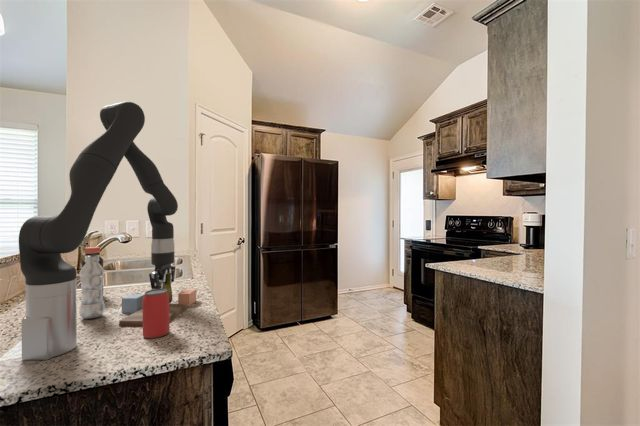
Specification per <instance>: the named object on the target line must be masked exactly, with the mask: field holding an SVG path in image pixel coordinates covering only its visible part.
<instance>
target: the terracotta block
mask: <svg viewBox="0 0 640 426" xmlns="http://www.w3.org/2000/svg"><path fill="white" fill-rule="evenodd" d="M177 297H178V298H177V302H178V303H177V304H187V307H190V306H191V305H193V304H194V303H195V302H196V301H197V288H195V289H188V288H187V289H184V290H182V291H181V292H179V293H178V294H177Z"/></svg>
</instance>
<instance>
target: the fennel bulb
mask: <svg viewBox="0 0 640 426" xmlns="http://www.w3.org/2000/svg"><path fill="white" fill-rule="evenodd" d="M171 279H172V278H171V273H167V277H166V279H165V282H164V283H163V288H162V289H166V290H167V293H168V295H169V304H172V303H171V302H172V301H173V289H172V284H171ZM159 280H162V279H159ZM159 283H160V282H159ZM154 285H155V283H154ZM153 290H154V289H153Z"/></svg>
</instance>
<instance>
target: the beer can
mask: <svg viewBox="0 0 640 426" xmlns="http://www.w3.org/2000/svg"><path fill="white" fill-rule="evenodd" d="M144 294H145V295H144V297H143V326H142V336H143V338H146V339H158V338H160V337H163V336H166V335H167V334H168V333H169V332H170V321H169V295H168V293H167V290H166V289H154V290H152V289H151V290H150V289H149V290H147V291H145V292H144Z"/></svg>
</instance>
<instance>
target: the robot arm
mask: <svg viewBox="0 0 640 426" xmlns="http://www.w3.org/2000/svg"><path fill="white" fill-rule="evenodd" d="M99 119H100V121H101V123H102V126H103V128H104V129H105V132H103V133H102V134H101V135H99V137H97V138H96V139H94V140H93V141H92V142H91V143H89V144H88V145H86V147H85V148H83V150H82V151H80V153H79V154H78V155H77V158H76V159H75V161H74V162H73V164H72V166H71V167H70V170H69V184H70V188H71V189H70V196H69V199H68V201H67V202H66V204H65V206H64V208H63V209H62V210H61V211H60V213H59V214H57V215H36V216H32V217H30V218H28V219H27V220H24V221H25V222H23V223H22V226H21V227H20V230H19V233H18V251H19V263H20V264H19V265H20V270H21V273H22V274H23V276H24V279H25V317H23V318H22V319H21V360H23V361H24V360H27V361H28V360H31V361H32V360H36V361H37V360H39V361H40V360H45V361H46V360H50V359H52V358H55V357H58V356H61V355H63V354H66V353H68V352H71V351H72V350H74V349H75V348H76V347H77V344H78V343H77V342H78V340H77V337H78V336H77V334H78V333H77V329H78V328H77V327H78V326H77V321H78V320H77V269H76V267H75V266H74V265H71V264H70V263H67V262H66V261H65V260H64V258H63V257H62V255H61V254H69V253H71V252H74V251H75V250H77V249H78V248H79V247H80V246H81V244H82V243H83V241H84V240H85V238H86V236H87V234H88V231H89V228H90V225H91V223H92V221H93V218H94V214H95V212H96V210H97V208H98V205H99V204H100V203H101V200H102V197H104V194H105V192H106V190H107V187H108V185H110V183H111V181H112V180H113V177H114V175H115V174H116V172H117V170H118V167H120V163H121V162H122V160H123V159H124V157H125V159H126V160H127V162H128V163H129V165H130V167H131V169H132V170H133V172H134V174H135V176H136V179H137V180H138V182H139V184H140V186H141V189H142V190H143V191H144V193H146V194H149V195H151V196H152V198H150V199H149V201H148V202H147V206H146V208H147V209H146V211H147V214H148V218H149V221H150V222H149V223H150V226H151V244H150V245H151V246H150V247H151V248H150V249H151V250H150V253H151V254H150V255H151V259H150V260H151V261H150V264H151V265H153V266H154V271H153V272H149V274H148V277H149V283H150V287H151V290H152V289H162V288H163V283H164V282H165V279H166V277H167V273H171V285H172V283H174V282H175V274H176V266H175V265H172V264H174V263H175V240H174V239H175V238H174V237H175V236H174V233H175V232H174V231H175V230H174V224H173V222H170V221H168V220H167V217H168V216H172V215H175V214H176V213H177V212H178V209H179V208H178V207H179V205H178V201H177V198H176V197H175V196H174V195H175V194H173V192H172V191H171V190H170V189H169V187H168V186H167V185H166V184H165V182H164V180H163V178H162V175H161V173H160V171H159V169H158V167H157V166H156V164H155V163H154V162H153V160H151V158H150V157H148V156H147V155H146V154H145V153H144V152H143V151H142V150H141V149H140V148H139V147H138V146H137V145H136V143H135V142H134V140H135V139H136V137H138V135H139V134H140V132H141V131H142V129H143V128H144V125H145V121H146V117H145V113H144V111H143V109H142V107H141V106H140V105H139V104H137V103H135V102H133V101H121V102H116V103H113V104H107V105H105V106H103V107H102V108H101V109H100V111H99ZM159 279H162V280H159ZM159 282H160V283H159ZM154 283H155V285H154Z"/></svg>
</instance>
